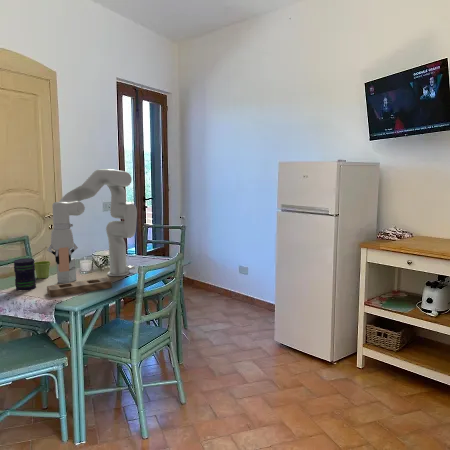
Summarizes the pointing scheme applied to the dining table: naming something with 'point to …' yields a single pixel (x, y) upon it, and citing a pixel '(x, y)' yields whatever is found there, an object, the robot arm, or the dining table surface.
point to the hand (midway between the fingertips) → (63, 262)
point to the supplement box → (67, 273)
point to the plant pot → (42, 269)
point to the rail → (78, 287)
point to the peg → (63, 259)
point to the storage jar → (25, 274)
